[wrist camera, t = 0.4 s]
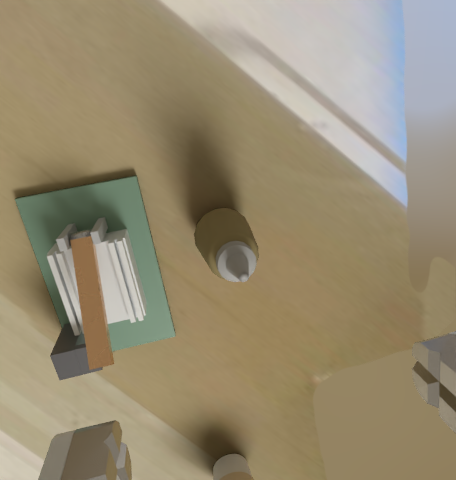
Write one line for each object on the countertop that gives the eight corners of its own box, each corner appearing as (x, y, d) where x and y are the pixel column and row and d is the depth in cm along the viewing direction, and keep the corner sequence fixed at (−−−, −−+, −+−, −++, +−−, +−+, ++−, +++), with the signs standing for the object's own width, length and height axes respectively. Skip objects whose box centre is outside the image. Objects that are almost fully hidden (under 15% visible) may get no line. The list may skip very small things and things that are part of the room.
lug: (64, 324, 57) (50, 355, 49) (101, 315, 57) (93, 345, 50) (72, 346, 58) (59, 380, 51) (109, 337, 58) (101, 370, 51)
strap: (72, 234, 49) (68, 231, 48) (93, 230, 49) (89, 227, 48) (92, 368, 45) (89, 370, 44) (114, 363, 46) (111, 364, 44)
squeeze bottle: (236, 194, 56) (270, 230, 39) (251, 243, 59) (287, 296, 42) (184, 212, 55) (195, 255, 38) (201, 260, 58) (218, 320, 41)
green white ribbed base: (17, 197, 51) (-6, 211, 44) (136, 175, 52) (132, 185, 45) (75, 356, 60) (63, 389, 53) (175, 332, 61) (177, 361, 54)
